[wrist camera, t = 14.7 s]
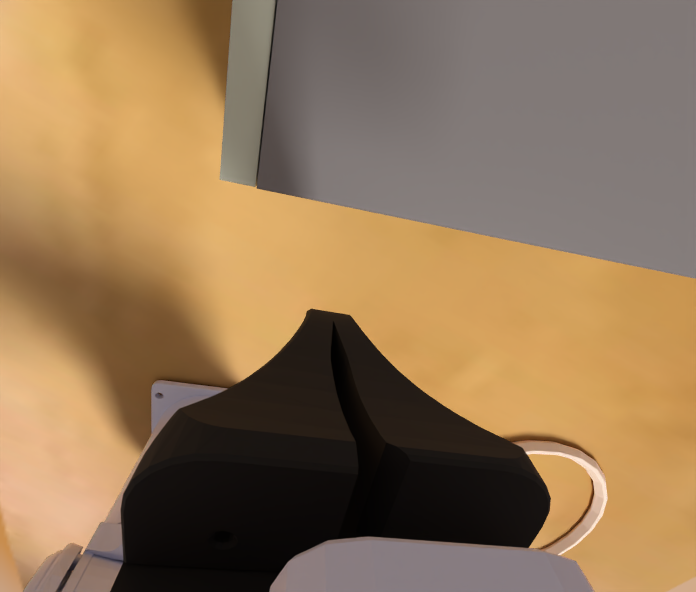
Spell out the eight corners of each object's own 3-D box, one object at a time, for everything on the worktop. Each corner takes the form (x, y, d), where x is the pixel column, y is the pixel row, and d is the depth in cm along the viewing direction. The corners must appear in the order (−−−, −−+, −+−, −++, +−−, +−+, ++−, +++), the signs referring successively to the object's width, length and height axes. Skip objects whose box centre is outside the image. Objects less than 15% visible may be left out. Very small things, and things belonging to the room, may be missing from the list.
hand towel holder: (567, 624, 34) (349, 607, 30) (541, 570, 38) (346, 550, 34) (688, 501, 27) (425, 461, 23) (641, 452, 31) (410, 411, 27)
